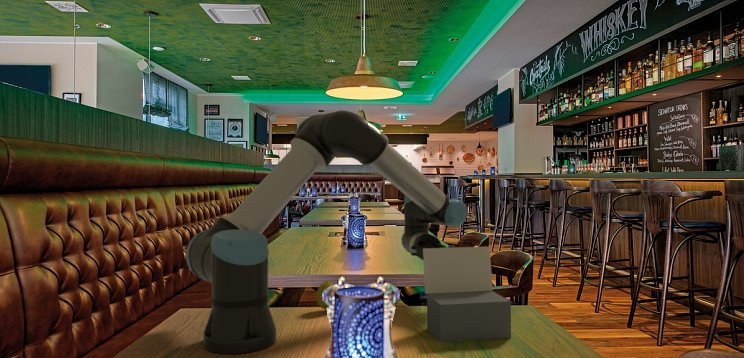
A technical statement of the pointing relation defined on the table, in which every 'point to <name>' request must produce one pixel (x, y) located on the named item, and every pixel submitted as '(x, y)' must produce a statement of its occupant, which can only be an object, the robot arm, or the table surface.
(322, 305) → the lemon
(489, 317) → the box
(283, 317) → the table surface
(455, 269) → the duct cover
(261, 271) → the robot arm
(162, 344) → the table surface
